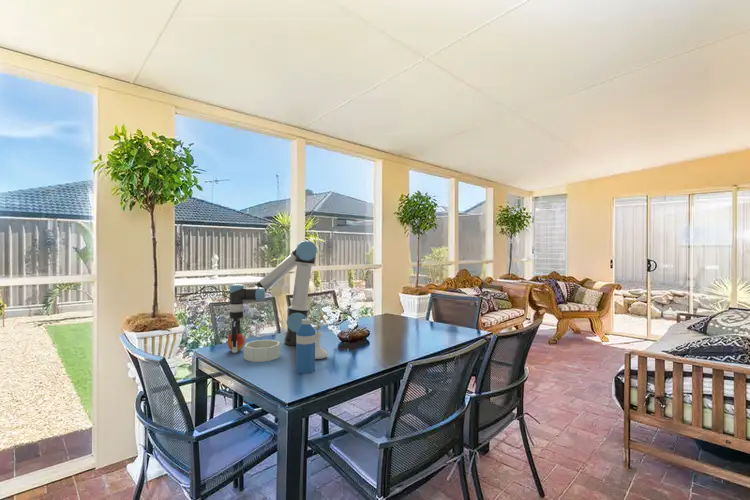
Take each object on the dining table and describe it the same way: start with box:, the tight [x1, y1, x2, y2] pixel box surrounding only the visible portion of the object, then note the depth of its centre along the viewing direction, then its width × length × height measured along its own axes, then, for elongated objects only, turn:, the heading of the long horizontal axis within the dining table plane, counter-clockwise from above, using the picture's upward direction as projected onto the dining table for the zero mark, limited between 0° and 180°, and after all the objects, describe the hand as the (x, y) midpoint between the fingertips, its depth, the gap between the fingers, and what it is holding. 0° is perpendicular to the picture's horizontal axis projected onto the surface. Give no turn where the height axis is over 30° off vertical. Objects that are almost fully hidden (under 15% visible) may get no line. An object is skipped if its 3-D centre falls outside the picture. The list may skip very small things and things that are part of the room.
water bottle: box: [295, 318, 316, 375], centre depth 185 cm, size 9×9×25 cm
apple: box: [227, 333, 246, 352], centre depth 218 cm, size 10×10×10 cm
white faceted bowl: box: [243, 339, 281, 363], centre depth 207 cm, size 18×18×7 cm
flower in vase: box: [315, 311, 329, 360], centre depth 207 cm, size 13×11×25 cm
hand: (236, 349), depth 218 cm, fingers closed on apple, 9 cm apart
